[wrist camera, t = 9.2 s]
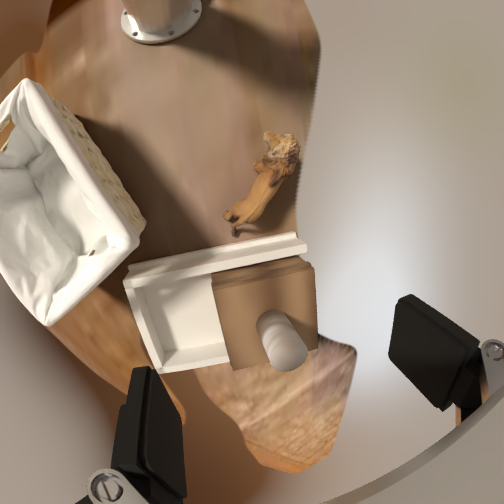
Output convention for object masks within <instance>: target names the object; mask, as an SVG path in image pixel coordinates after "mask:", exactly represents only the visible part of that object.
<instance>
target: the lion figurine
mask: <svg viewBox="0 0 504 504" xmlns="http://www.w3.org/2000/svg"><path fill="white" fill-rule="evenodd" d="M264 141H265V142H267V144H268V145H269V148H268V149H267V151H266V154H265V156H264V158H263V159H262V162H259V161H256V162H254V163H253V168H254V170H255V171H256V172H258V173H259V174H258V176H257V177H256V179H255V181H254V183H253V185H252V187H251V189H250V192H249V195H248V197H247V198H246V199H244V200H240V201H238V202H237V203H235V204H234V205H233V206H232V208H231V209H230V211H226V212H224V215H223V217H224V219H225V220H226V221H229V220H231V218H232V216H234V215H235V216H237V217H239V219H238V221H237V222H234V223H233V224H232V231H231V232H232V236H233V237H235V236H236V232H237V229H236V226H239V225H241V224H243V223H245V222H247V223H251V222H254V221H256V220H257V219H258V218H259V217H260V216H261V214H262V213H263V211H264V209H265V207H266V205H267V203H268V202H269V201H270V200H271V198H272V197H273V196H274V195H275V193H276V192H277V190H278V189H279V187H280V185H281V183H282V181H284V180H285V179H286V178H287V177H289V176H290V175H292V173H293V171H295V166H296V164H297V161H298V160H299V158H298V157H299V154H298V153H299V152H300V145H298V141H297V140H296V139H295V138H293V134H285V136H283V135H275V134H274V133H273V132H270V131H267V132H265V133H264Z"/></svg>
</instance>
